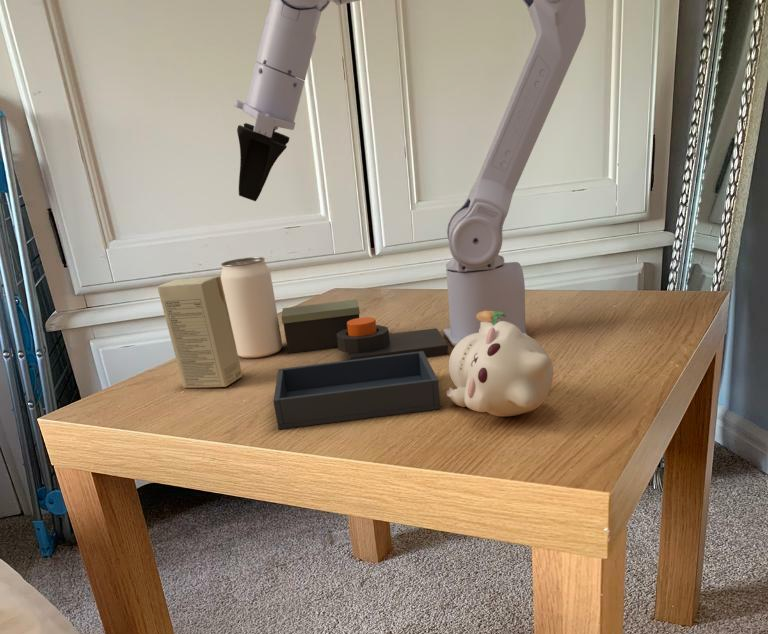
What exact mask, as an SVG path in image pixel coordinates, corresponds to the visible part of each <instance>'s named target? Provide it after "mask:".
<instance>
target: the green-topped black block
mask: <svg viewBox="0 0 768 634" xmlns="http://www.w3.org/2000/svg"><path fill="white" fill-rule="evenodd" d="M360 315H361V313H360V306H359V302H358V299H347V300H338V301H331V302H322V303H315V304H306V305H299V306H298V305H297V306H291V307H289V306H288V307H283V308H282V311H281V317H280V318H281V322H282V324H283V330H284V335H285V336H284V337H285V342H286V349H287V353H288V354H295V353H304V352H310V351H319V350H326V349H335V348H336V349H338V342H337V333H338V332H340V331H342V330H344V329H348V328H347V322H348V321H350V320H352V319H356V318H360Z"/></svg>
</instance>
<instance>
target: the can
mask: <svg viewBox="0 0 768 634" xmlns="http://www.w3.org/2000/svg"><path fill="white" fill-rule="evenodd" d="M265 260H266V258H265V257H263V256H252V257H250V256H249V257H243V258H236V259H231V260H226V261H223V262H222V263H221V266H222V269H221V273H220V277H221V281H222V286H223V290H224V295H225V299H226V304H227V308H228V313H229V317H230V322H231V326H232V331H233V335H234V340H235V344H236V349H237V353H238V358H241V359H248V360H249V359H259V358H260V359H262V358H266V357H269V356H273V355H276V354H278V353H279V352H280V351H281V349H282V348H283V342H282V341H283V340H282V335H281V328H280V321H279V317H278V310H277V309H278V308H277V304H276V303H277V302H276V299H275V298H276V297H275V292H274V286H273V281H272V280H273V279H272V275H271V269H270V268H269V267H268V265H267V263H266V262H265Z"/></svg>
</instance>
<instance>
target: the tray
mask: <svg viewBox="0 0 768 634" xmlns="http://www.w3.org/2000/svg"><path fill="white" fill-rule="evenodd" d="M272 402H273V407H274V412H275V418H276V419H275V420H276V423H277V429H278V430H284V429H293V428H300V427H309V426H315V425H325V424H332V423H339V422H340V423H342V422H348V421H355V420H363V419H371V418H379V417H386V416H395V415H403V414H411V413H418V412H425V411H434V410H441V399H440V386H439V379H438V377H437V375H436V373H435V371H434V369H433V368H432V366H431V364H430V361H429V359H428V357H426V356H425V354H424V352H423V351H419V352H411V353H403V354H395V355H387V356H379V357H371V358H363V359H355V360H350V359H347V360H340V361H332V362H331V361H330V362H324V363H315V364H308V365H299V366H291V367H283V368H278V369H277V376H276V381H275V387H274V394H273V401H272Z"/></svg>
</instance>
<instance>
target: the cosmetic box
mask: <svg viewBox="0 0 768 634" xmlns="http://www.w3.org/2000/svg"><path fill="white" fill-rule="evenodd" d="M157 290H158V295H159V298H160V302H161V306H162V309H163V314H164V317H165V321H166V326H167V329H168V333H169V337H170V340H171V345H172V348H173V352H174V356H175V360H176V364H177V367H178V371H179V375H180V379H181V384H182V388H184V389H187V388H190V389H192V388H194V389H196V388H226V387H227V386H230V385H231V384H233V383H234V382H236V381H237V380H239V379H240V378H241V377H243V372H242V368H241V363H240V359H239V358H240V357H239V356H238V353H237V349H236V344H235V340H234V335H233V331H232V326H231V322H230V317H229V313H228V308H227V304H226V299H225V295H224V290H223V286H222V281H221V275H216V276H215V275H214V276H203V277H202V276H201V277H192V278H191V277H190V278H177V279H174V280H171V281H168V282H165V283H163V284H160V285H158V286H157Z"/></svg>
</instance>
